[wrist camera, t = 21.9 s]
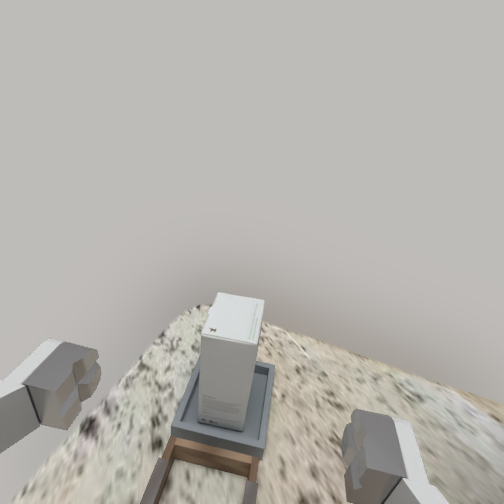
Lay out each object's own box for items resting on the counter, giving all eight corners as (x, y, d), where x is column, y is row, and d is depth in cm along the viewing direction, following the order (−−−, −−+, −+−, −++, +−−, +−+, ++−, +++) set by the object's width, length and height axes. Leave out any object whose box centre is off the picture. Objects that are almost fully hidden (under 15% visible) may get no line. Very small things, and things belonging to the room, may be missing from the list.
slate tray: (272, 375, 49) (275, 365, 48) (261, 459, 38) (264, 448, 37) (201, 359, 50) (202, 348, 49) (171, 437, 39) (171, 425, 38)
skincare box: (242, 434, 40) (259, 348, 32) (192, 422, 40) (197, 335, 32) (252, 379, 47) (267, 298, 39) (210, 370, 47) (217, 289, 40)
